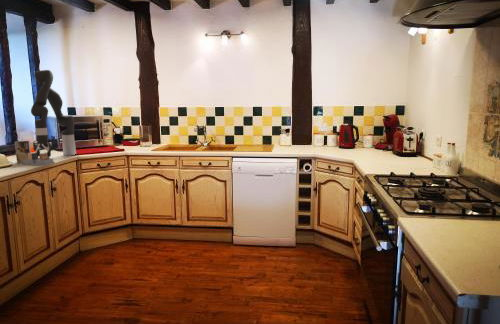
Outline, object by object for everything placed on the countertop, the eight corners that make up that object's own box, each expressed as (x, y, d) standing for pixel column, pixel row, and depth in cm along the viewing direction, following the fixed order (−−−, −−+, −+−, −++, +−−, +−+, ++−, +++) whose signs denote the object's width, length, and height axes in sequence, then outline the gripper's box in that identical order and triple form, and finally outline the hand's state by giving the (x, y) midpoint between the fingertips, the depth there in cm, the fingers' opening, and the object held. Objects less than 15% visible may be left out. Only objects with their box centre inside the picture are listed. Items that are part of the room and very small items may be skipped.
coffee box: (32, 161, 281) (30, 140, 278) (30, 162, 275) (28, 141, 272) (18, 162, 277) (15, 140, 275) (16, 163, 272) (14, 141, 269)
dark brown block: (49, 161, 273) (49, 152, 272) (44, 163, 268) (43, 153, 266) (45, 161, 274) (44, 152, 273) (39, 163, 268) (38, 153, 267)
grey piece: (34, 162, 278) (33, 151, 277) (54, 162, 275) (53, 152, 274) (23, 164, 268) (22, 153, 266) (43, 165, 265) (42, 154, 263)
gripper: (54, 133, 269) (56, 155, 272) (37, 133, 272) (39, 155, 275) (46, 135, 262) (48, 157, 265) (29, 134, 265) (31, 156, 267)
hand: (43, 156), depth 270 cm, fingers open, 8 cm apart
